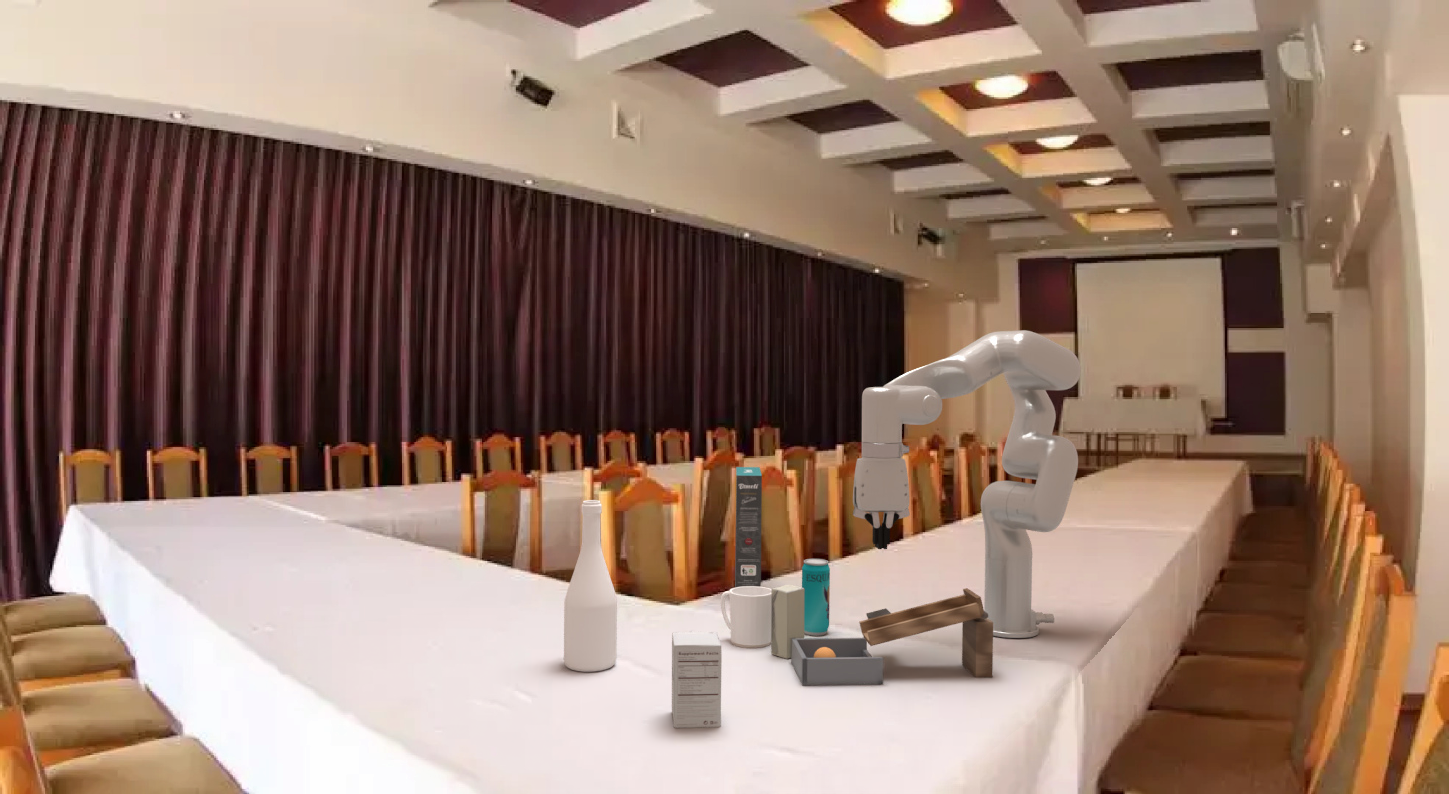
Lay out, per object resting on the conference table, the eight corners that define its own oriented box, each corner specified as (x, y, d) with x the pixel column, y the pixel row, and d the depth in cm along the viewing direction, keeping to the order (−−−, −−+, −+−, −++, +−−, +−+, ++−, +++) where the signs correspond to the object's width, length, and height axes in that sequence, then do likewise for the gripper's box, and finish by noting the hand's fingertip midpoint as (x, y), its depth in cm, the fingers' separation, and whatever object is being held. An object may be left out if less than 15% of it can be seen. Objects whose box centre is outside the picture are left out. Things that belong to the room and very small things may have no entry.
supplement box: (670, 711, 145) (671, 631, 145) (717, 710, 146) (718, 630, 146) (672, 728, 138) (672, 644, 138) (721, 727, 139) (722, 644, 138)
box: (787, 649, 180) (788, 583, 180) (805, 654, 177) (806, 587, 176) (769, 655, 176) (770, 587, 176) (786, 660, 173) (787, 591, 173)
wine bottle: (573, 676, 162) (574, 505, 162) (557, 661, 171) (558, 499, 170) (624, 669, 166) (625, 502, 166) (605, 655, 175) (607, 496, 174)
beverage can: (827, 637, 188) (828, 564, 188) (799, 635, 190) (800, 563, 189) (830, 630, 194) (831, 559, 194) (803, 628, 195) (803, 557, 195)
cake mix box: (760, 602, 218) (761, 475, 218) (735, 602, 219) (736, 475, 218) (758, 582, 240) (759, 467, 240) (735, 582, 240) (736, 467, 240)
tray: (865, 661, 172) (865, 637, 172) (882, 684, 159) (883, 658, 159) (791, 662, 171) (791, 638, 171) (802, 685, 158) (802, 659, 158)
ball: (834, 645, 167) (812, 643, 167) (838, 651, 163) (816, 650, 163) (832, 667, 167) (810, 665, 167) (837, 674, 163) (814, 672, 163)
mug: (778, 639, 187) (779, 588, 187) (766, 651, 179) (766, 597, 179) (727, 633, 191) (727, 584, 191) (712, 645, 182) (713, 593, 182)
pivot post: (976, 663, 172) (977, 596, 172) (992, 677, 164) (993, 607, 164) (960, 663, 172) (961, 596, 172) (975, 677, 164) (976, 607, 163)
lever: (959, 597, 179) (955, 577, 179) (988, 618, 164) (984, 596, 164) (853, 625, 178) (848, 605, 178) (872, 648, 162) (867, 626, 162)
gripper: (914, 450, 180) (914, 544, 180) (838, 450, 179) (838, 545, 179) (926, 453, 172) (925, 551, 173) (846, 453, 171) (846, 552, 172)
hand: (881, 547), depth 176 cm, fingers closed
